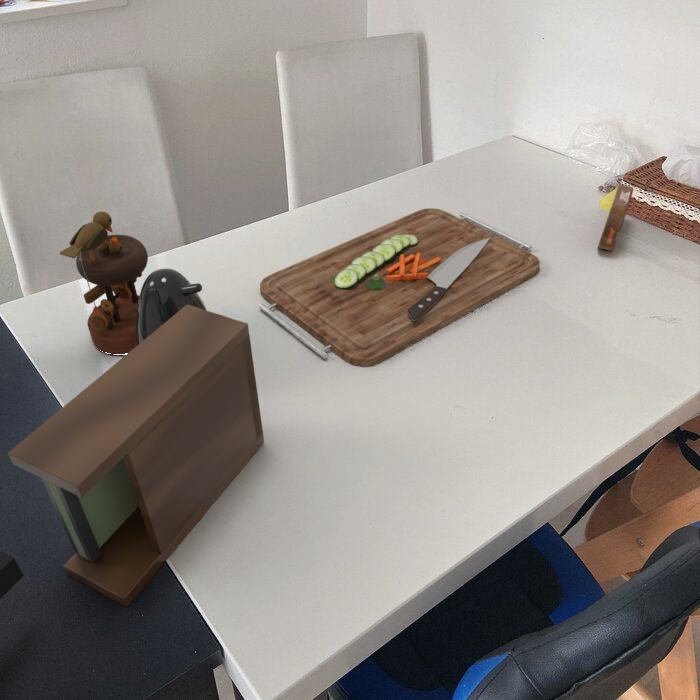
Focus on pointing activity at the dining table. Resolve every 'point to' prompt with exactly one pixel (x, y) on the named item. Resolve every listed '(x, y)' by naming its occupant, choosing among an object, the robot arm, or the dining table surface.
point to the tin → (616, 217)
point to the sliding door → (95, 510)
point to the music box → (109, 282)
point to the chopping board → (396, 284)
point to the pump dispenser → (164, 300)
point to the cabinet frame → (155, 441)
